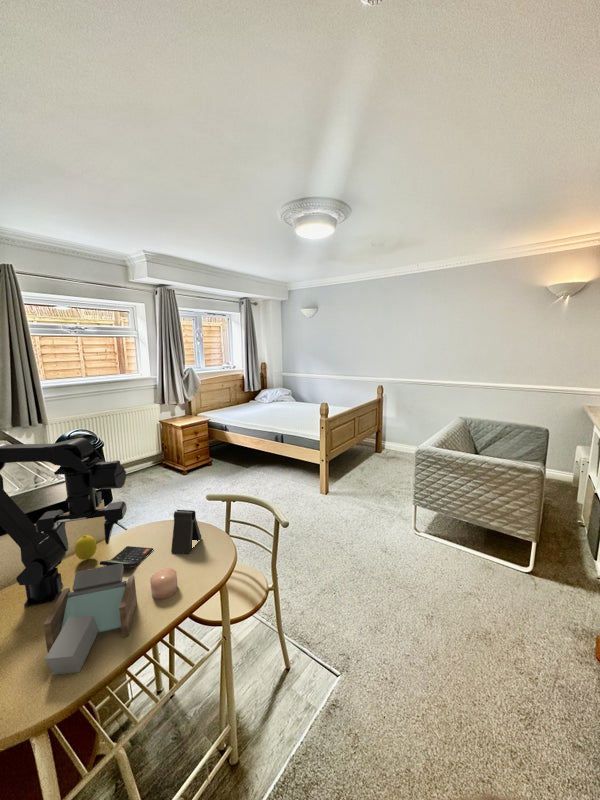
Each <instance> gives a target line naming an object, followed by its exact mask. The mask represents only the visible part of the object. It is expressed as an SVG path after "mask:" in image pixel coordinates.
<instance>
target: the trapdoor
mask: <svg viewBox="0 0 600 800" xmlns="http://www.w3.org/2000/svg"><path fill="white" fill-rule="evenodd" d="M124 569H125V567H124V566H123V564H122V563H120V564H115V565H109V566H108V565H103V566H99V567H94V568H89V569H84V570H83V569H82V570H78V571H75V575H74V580H73V584H72V588H71V589H72V591H70V592H69V593H68V599H67V604H66V609H65V614H64V619H63V623H62V628H63V626H64V624H65V623H66V621H67V619H68V617H77V616H91V615H93V616H94V619H95V622H96V624H97V627H98V630H99V631H98V633H97V634H99V633H103V632H104V633H105V632H107V631H112V630H115V629H116V630H117V629H121V620H120V611H119V607H120V604H121V600H122V597H123V594H124V591H125V587H126V584H127V581H126V580H124V581H123V578H124V577H123V576H124ZM62 628H61V630H62Z"/></svg>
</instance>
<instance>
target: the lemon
mask: <svg viewBox="0 0 600 800" xmlns="http://www.w3.org/2000/svg"><path fill="white" fill-rule="evenodd" d="M97 550H98V549H97V541H96V539H95V538H94V537H93V536H92V535H86V534H85V535H83V536H82V537H80V538H78V540H76V543H75V545H74V554H75V556H76V557H77V559H80V560H83V561H84V560H85V561H88V560H90V559H91V558H92V557H93V556H94V555H95V554H96V551H97Z"/></svg>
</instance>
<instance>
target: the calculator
mask: <svg viewBox="0 0 600 800" xmlns="http://www.w3.org/2000/svg"><path fill="white" fill-rule="evenodd" d="M153 549H154V548H153V547H141V546H132V545H131V546H129V545H128V546H127V545H126V547H124V548H123V549H122V550H121V551H119V552H118V553H117V554H116V555H115V556H114V557H112V558H111V559H110V560H100V561H99V566H109V565H115V564H120V563H122V564H123V566H124V568H132V567H133V568H134V567H137V566H138V565H140V564H141V563H142V562H141V561H142V560H143V559H144V558H145V557H146V556H147V555H148V554H149V553H150V552H151V551H152V550H153ZM153 551H154V550H153ZM153 551H152V552H153ZM152 552H151V553H152ZM151 553H150V554H151ZM150 554H149V555H150ZM149 555H148V556H149ZM148 556H147V557H148ZM147 557H146V558H147ZM146 558H145V559H146ZM145 559H144V560H145ZM144 560H143V561H144ZM140 562H141V563H140Z"/></svg>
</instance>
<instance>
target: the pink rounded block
mask: <svg viewBox="0 0 600 800" xmlns="http://www.w3.org/2000/svg"><path fill="white" fill-rule="evenodd" d="M177 574H178V573H177V571H176V569H174V568H171V567H170V568H163V569H160V570H157V571H155V572H154V573H153V574H152V575H151V577H150V579H149V580H150V581H149V582H150V590H151V591H150V592H151V596H152V597H153V599H156V600H164V599H166V598H170V597H172V596H173V595H174V594H175V593H176V592H177V591H178V587H179V585H178V575H177Z"/></svg>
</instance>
